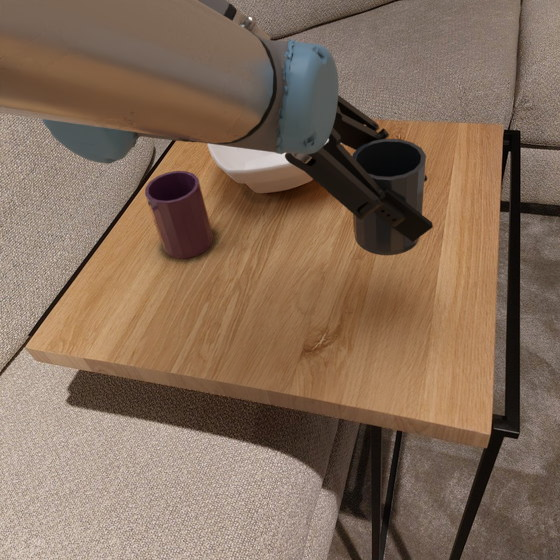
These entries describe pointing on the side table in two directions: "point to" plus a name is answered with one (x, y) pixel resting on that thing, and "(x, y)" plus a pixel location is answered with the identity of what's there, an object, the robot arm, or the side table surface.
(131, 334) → the side table surface
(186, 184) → the plum cup
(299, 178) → the bowl
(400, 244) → the slate cup
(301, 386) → the side table surface
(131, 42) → the robot arm
